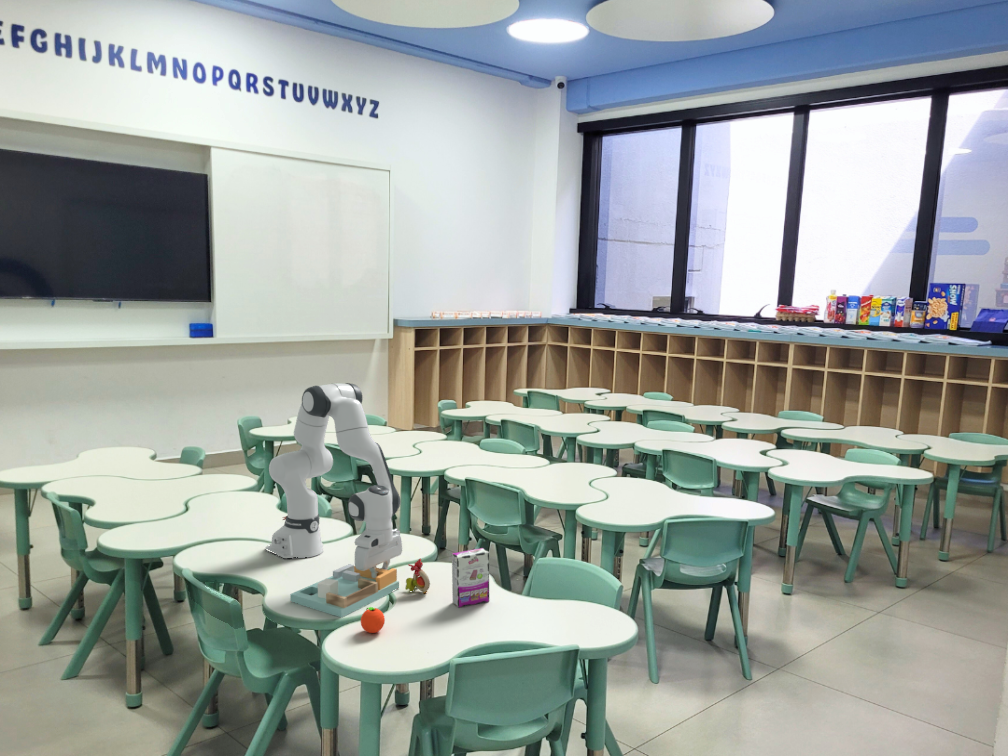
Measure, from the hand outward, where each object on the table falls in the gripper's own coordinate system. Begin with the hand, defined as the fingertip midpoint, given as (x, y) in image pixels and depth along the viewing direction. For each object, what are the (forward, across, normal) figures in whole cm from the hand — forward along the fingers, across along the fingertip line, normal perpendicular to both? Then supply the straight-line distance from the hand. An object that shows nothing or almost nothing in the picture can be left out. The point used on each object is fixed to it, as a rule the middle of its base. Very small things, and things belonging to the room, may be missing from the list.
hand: (379, 575), depth 257 cm
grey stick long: (+1, +6, -8) cm, 9 cm away
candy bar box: (+4, -6, +33) cm, 34 cm away
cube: (+1, +20, -4) cm, 20 cm away
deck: (+4, +12, -4) cm, 13 cm away
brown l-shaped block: (+1, +16, +3) cm, 17 cm away
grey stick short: (+1, +4, -13) cm, 13 cm away
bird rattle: (+4, -4, +14) cm, 15 cm away
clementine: (+4, +27, +21) cm, 35 cm away
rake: (+1, +3, -2) cm, 4 cm away
